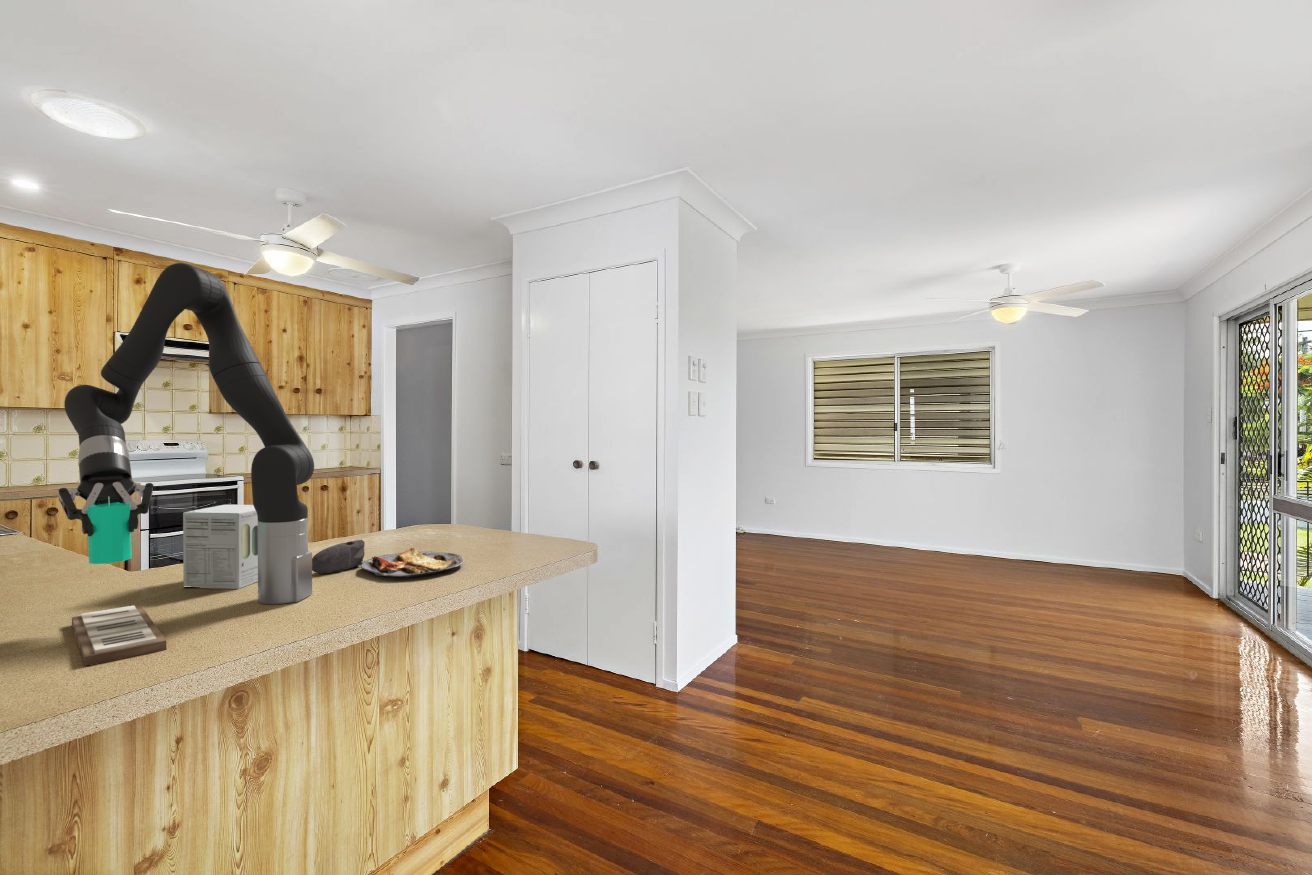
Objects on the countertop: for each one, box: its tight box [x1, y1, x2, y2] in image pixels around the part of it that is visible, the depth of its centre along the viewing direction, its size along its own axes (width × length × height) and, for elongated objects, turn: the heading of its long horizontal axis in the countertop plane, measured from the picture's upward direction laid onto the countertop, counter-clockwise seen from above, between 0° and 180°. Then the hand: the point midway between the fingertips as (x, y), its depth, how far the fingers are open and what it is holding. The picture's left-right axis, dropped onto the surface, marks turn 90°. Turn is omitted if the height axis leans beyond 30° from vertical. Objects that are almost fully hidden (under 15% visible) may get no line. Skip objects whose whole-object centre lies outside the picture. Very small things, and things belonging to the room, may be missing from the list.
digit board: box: [71, 605, 168, 667], centre depth 108 cm, size 27×10×2 cm, turn 47°
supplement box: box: [182, 504, 258, 590], centre depth 145 cm, size 13×13×18 cm
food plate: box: [359, 547, 465, 578], centre depth 159 cm, size 25×23×4 cm
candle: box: [87, 497, 133, 565], centre depth 114 cm, size 6×6×12 cm
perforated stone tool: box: [312, 539, 365, 574], centre depth 156 cm, size 15×5×7 cm, turn 149°
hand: (111, 531), depth 113 cm, fingers closed on candle, 5 cm apart
